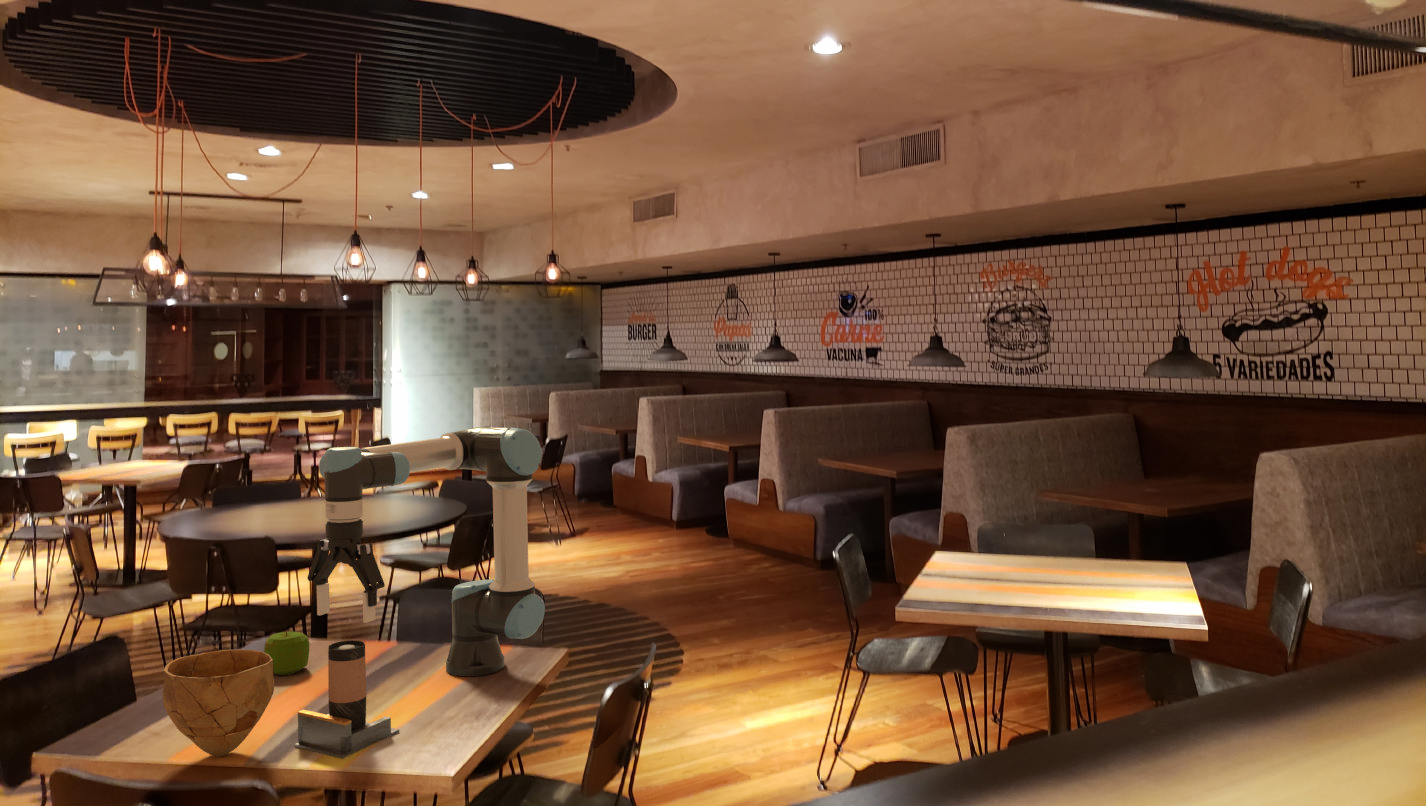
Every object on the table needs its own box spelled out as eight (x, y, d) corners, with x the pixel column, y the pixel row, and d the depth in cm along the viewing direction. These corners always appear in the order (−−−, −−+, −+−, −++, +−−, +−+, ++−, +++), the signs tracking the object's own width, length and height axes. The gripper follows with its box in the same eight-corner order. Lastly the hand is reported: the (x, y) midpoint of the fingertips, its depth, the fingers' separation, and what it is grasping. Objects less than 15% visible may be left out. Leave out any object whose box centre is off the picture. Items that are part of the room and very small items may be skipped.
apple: (318, 669, 259) (317, 628, 259) (281, 680, 250) (280, 638, 250) (292, 662, 265) (292, 622, 265) (256, 673, 256) (255, 632, 256)
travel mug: (374, 732, 213) (373, 641, 212) (350, 745, 206) (349, 651, 205) (345, 728, 216) (344, 638, 215) (321, 740, 209) (319, 648, 208)
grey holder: (353, 721, 221) (352, 690, 221) (399, 732, 215) (398, 700, 215) (294, 746, 207) (293, 713, 207) (342, 758, 201) (341, 724, 200)
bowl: (219, 732, 215) (217, 642, 214) (296, 742, 209) (294, 650, 209) (139, 769, 195) (136, 671, 195) (221, 782, 190) (219, 680, 189)
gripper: (288, 518, 211) (291, 614, 212) (373, 526, 200) (375, 628, 201) (316, 513, 218) (318, 607, 219) (400, 521, 207) (402, 620, 208)
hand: (346, 617), depth 210 cm, fingers open, 13 cm apart
